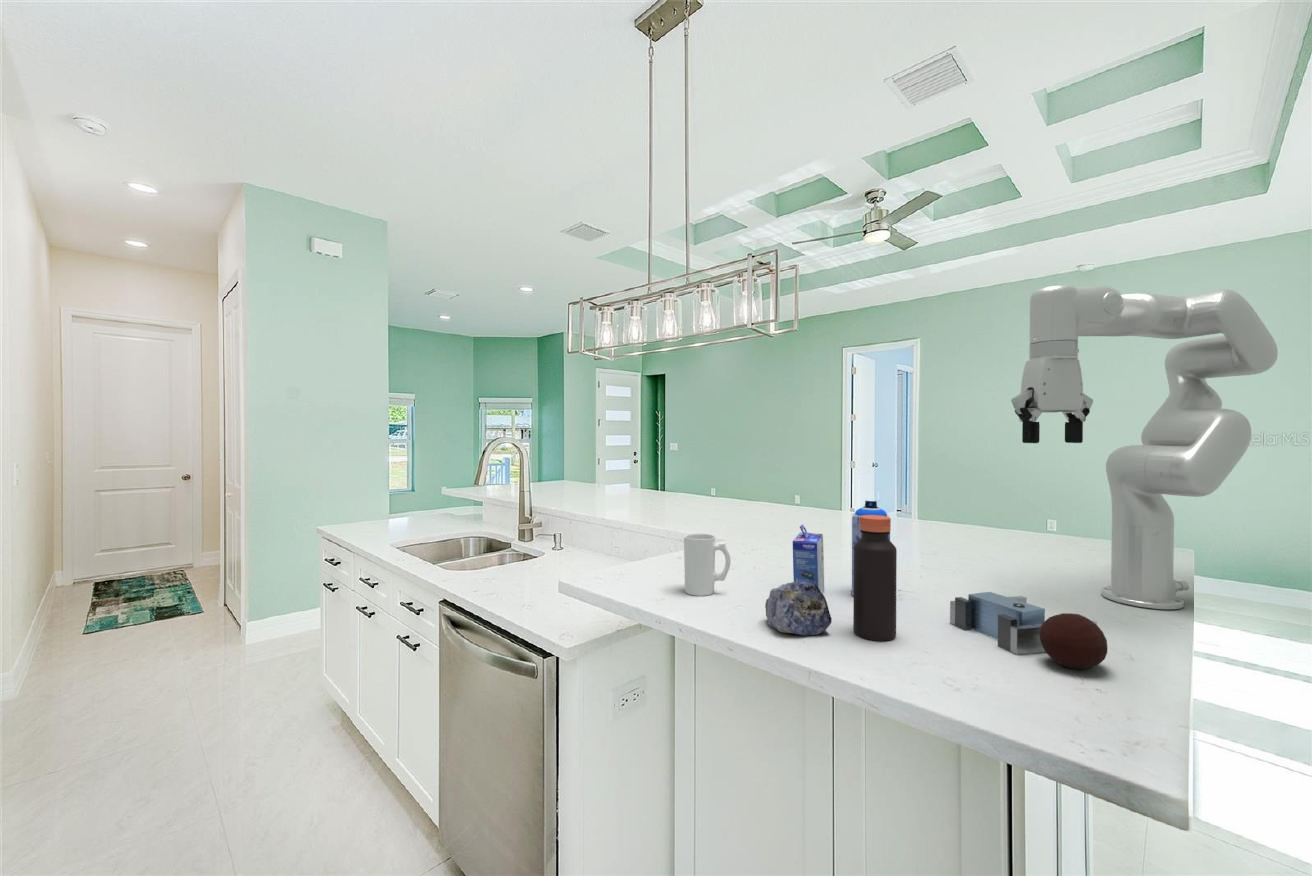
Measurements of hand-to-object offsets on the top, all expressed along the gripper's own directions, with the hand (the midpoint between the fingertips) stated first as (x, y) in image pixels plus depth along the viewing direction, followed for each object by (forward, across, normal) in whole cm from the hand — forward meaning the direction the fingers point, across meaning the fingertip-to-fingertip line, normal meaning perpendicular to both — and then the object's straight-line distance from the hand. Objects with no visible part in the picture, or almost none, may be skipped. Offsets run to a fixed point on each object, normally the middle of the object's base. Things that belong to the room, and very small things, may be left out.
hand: (1052, 442), depth 106 cm
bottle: (+32, +40, +4) cm, 52 cm away
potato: (+33, +19, +21) cm, 43 cm away
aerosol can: (+32, +28, -16) cm, 46 cm away
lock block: (+32, +19, +9) cm, 39 cm away
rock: (+33, +52, -2) cm, 61 cm away
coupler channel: (+32, +16, +9) cm, 37 cm away
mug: (+32, +61, -25) cm, 74 cm away
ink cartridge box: (+32, +40, -20) cm, 55 cm away
